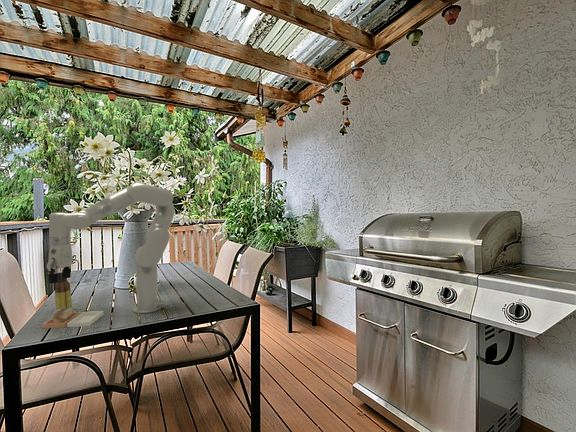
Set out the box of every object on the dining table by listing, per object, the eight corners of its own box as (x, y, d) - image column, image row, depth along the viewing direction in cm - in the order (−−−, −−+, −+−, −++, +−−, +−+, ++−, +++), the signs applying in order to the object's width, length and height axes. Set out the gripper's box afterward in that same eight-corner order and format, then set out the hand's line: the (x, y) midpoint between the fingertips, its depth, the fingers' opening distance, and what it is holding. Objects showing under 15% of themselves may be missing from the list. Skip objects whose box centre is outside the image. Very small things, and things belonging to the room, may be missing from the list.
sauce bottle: (69, 308, 157) (68, 269, 156) (73, 311, 153) (72, 270, 152) (53, 312, 152) (52, 271, 151) (57, 315, 148) (56, 273, 147)
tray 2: (103, 316, 147) (103, 310, 146) (89, 327, 133) (89, 321, 133) (84, 317, 145) (84, 311, 145) (67, 328, 132) (67, 323, 131)
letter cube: (72, 319, 141) (72, 307, 140) (66, 323, 136) (65, 311, 135) (60, 319, 140) (59, 308, 140) (53, 324, 135) (53, 312, 135)
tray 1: (81, 317, 145) (81, 311, 145) (64, 329, 131) (64, 323, 131) (61, 318, 144) (61, 312, 144) (42, 330, 130) (42, 324, 130)
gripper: (57, 243, 128) (57, 285, 129) (79, 239, 145) (79, 276, 146) (37, 243, 127) (37, 285, 128) (62, 239, 144) (62, 276, 145)
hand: (60, 280), depth 137 cm, fingers open, 9 cm apart
